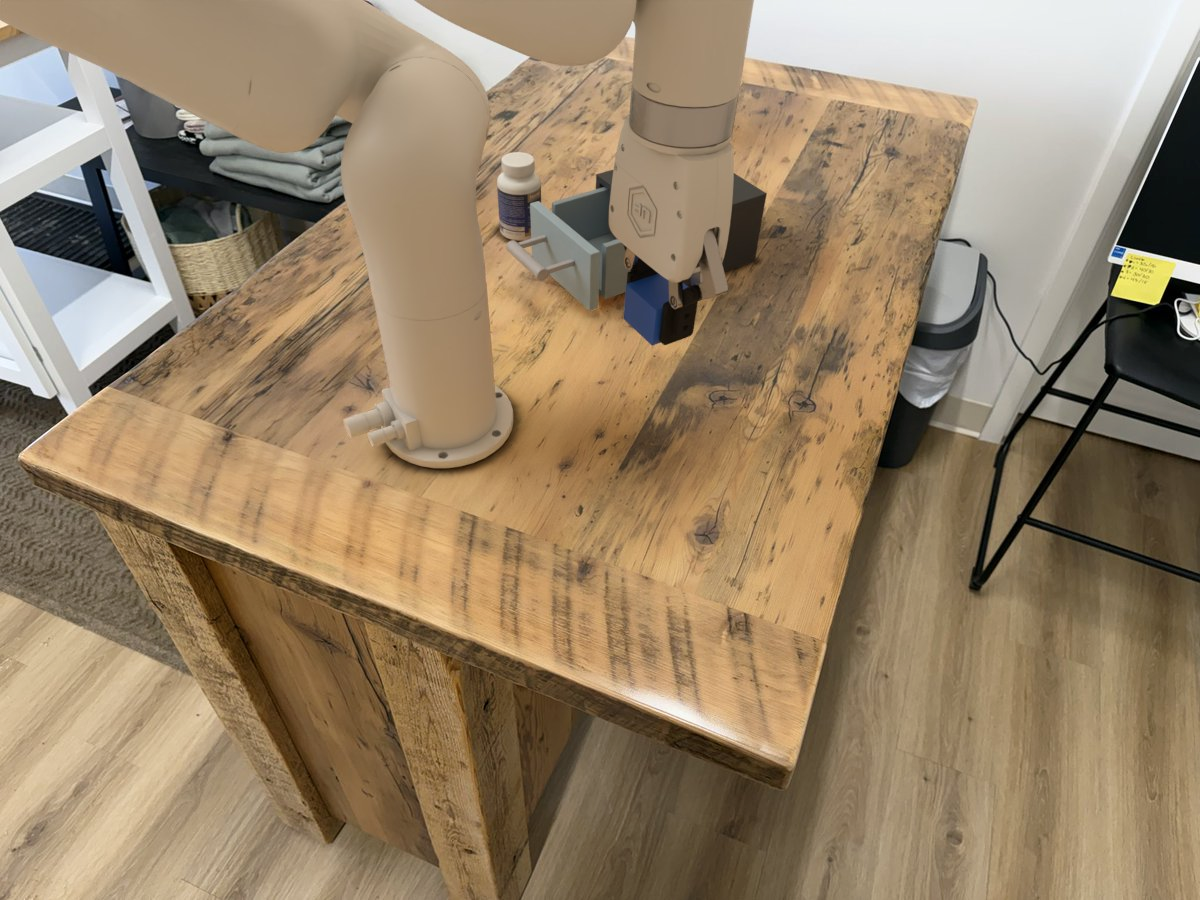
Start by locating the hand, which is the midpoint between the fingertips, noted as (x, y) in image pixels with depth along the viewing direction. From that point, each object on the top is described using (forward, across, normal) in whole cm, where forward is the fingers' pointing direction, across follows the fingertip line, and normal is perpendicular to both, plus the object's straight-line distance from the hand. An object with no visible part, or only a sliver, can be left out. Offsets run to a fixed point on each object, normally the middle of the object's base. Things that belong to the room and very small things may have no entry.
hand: (658, 321), depth 72 cm
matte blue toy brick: (0, 0, 0) cm, 0 cm away
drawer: (+12, -25, +10) cm, 30 cm away
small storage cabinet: (+13, -25, +22) cm, 36 cm away
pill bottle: (+14, -39, +8) cm, 42 cm away
